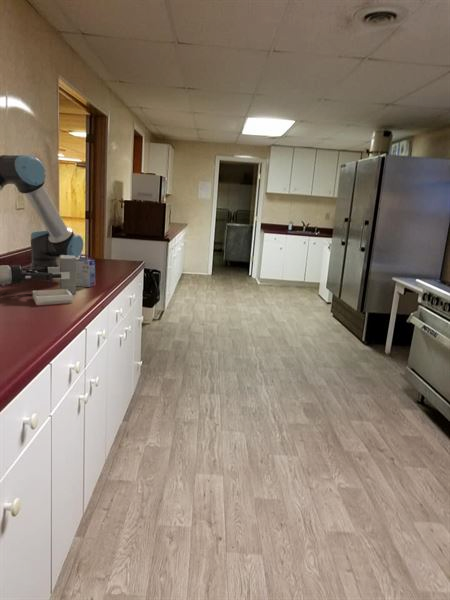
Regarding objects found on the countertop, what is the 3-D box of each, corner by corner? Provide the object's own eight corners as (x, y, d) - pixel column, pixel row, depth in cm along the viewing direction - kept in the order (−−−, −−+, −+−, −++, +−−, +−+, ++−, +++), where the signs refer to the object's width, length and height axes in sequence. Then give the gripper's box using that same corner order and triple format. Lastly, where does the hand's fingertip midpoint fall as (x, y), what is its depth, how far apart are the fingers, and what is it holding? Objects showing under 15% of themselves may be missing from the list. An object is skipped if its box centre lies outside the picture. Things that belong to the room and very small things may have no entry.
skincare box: (59, 291, 184) (57, 254, 181) (76, 290, 187) (75, 254, 184) (60, 295, 177) (58, 257, 173) (78, 294, 180) (76, 257, 176)
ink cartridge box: (96, 285, 200) (95, 254, 197) (90, 287, 195) (89, 256, 192) (77, 283, 202) (76, 253, 199) (70, 285, 197) (69, 254, 193)
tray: (33, 298, 170) (32, 290, 170) (67, 295, 177) (66, 288, 176) (36, 305, 159) (36, 297, 159) (72, 302, 166) (72, 295, 165)
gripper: (9, 278, 181) (62, 276, 191) (13, 290, 160) (72, 286, 170) (8, 261, 179) (61, 259, 189) (11, 270, 158) (71, 268, 168)
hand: (66, 272), depth 180 cm, fingers open, 13 cm apart
